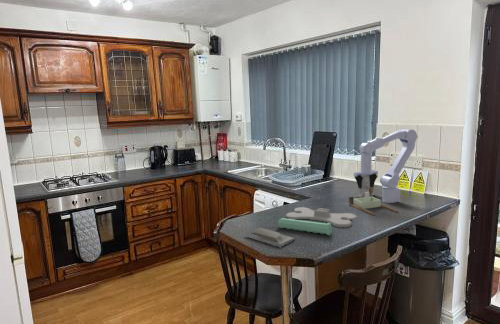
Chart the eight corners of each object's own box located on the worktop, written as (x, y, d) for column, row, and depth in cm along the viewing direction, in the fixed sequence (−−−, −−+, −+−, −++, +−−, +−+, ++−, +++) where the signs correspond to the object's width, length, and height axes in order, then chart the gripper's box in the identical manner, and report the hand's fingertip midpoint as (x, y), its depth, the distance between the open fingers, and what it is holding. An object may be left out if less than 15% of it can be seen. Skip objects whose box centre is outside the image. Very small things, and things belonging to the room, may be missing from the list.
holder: (348, 229, 155) (348, 219, 154) (282, 219, 174) (282, 210, 173) (359, 218, 171) (359, 208, 170) (298, 209, 189) (298, 201, 189)
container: (277, 216, 159) (328, 222, 146) (282, 217, 164) (332, 223, 151) (275, 228, 158) (327, 235, 145) (280, 229, 163) (331, 236, 150)
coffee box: (364, 193, 217) (364, 169, 214) (374, 195, 213) (374, 170, 210) (359, 196, 210) (359, 171, 207) (369, 198, 206) (369, 172, 203)
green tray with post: (371, 202, 192) (372, 189, 191) (380, 206, 184) (381, 192, 183) (353, 205, 189) (353, 191, 188) (361, 209, 181) (361, 195, 180)
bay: (369, 202, 196) (369, 193, 196) (397, 213, 174) (398, 203, 173) (346, 205, 192) (346, 195, 192) (372, 217, 170) (372, 206, 169)
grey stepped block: (280, 249, 136) (279, 241, 136) (244, 238, 150) (244, 230, 149) (294, 242, 144) (294, 234, 143) (259, 231, 157) (259, 224, 157)
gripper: (359, 166, 184) (358, 190, 186) (381, 164, 187) (381, 187, 190) (351, 164, 190) (351, 187, 192) (373, 162, 194) (373, 185, 196)
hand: (365, 187), depth 191 cm, fingers open, 7 cm apart
